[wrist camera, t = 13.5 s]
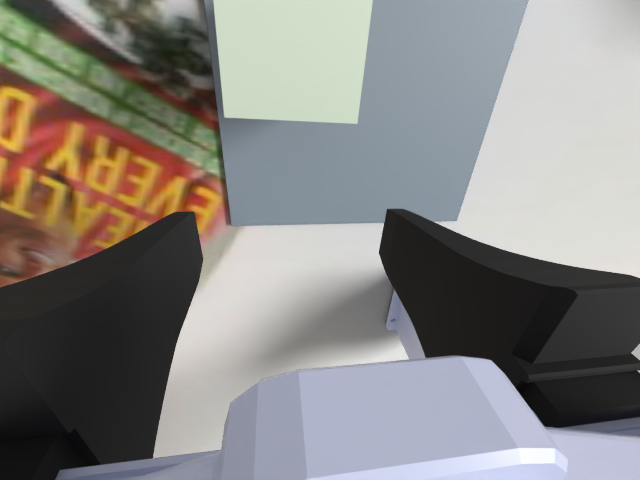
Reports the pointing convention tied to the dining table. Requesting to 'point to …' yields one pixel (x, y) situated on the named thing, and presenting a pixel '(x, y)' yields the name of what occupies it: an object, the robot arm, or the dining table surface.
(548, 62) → the dining table surface
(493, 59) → the slate board
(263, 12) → the sage block
